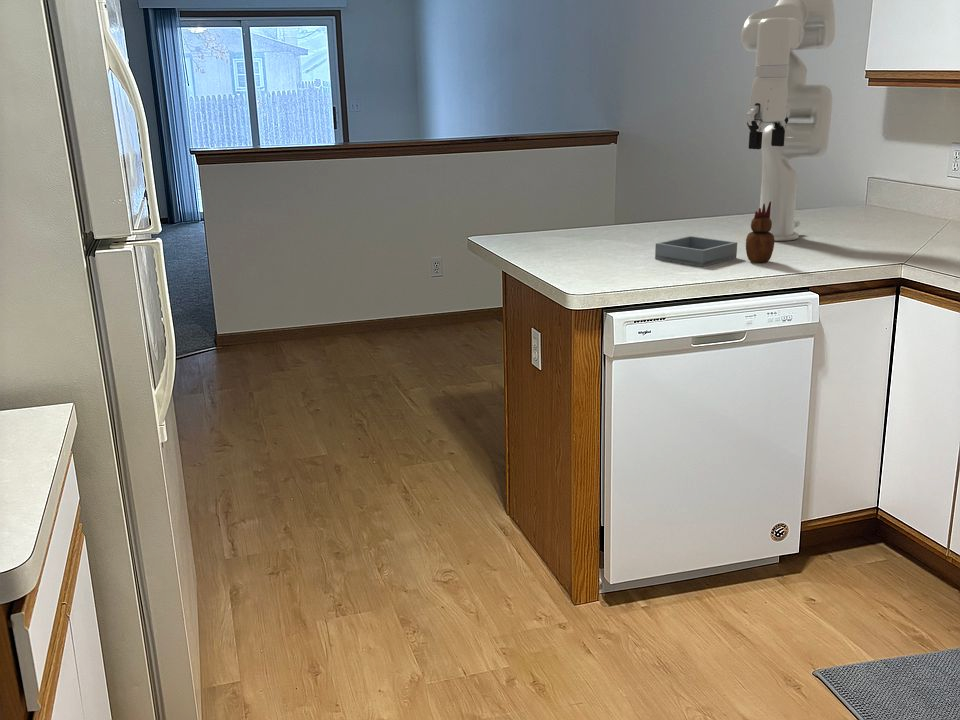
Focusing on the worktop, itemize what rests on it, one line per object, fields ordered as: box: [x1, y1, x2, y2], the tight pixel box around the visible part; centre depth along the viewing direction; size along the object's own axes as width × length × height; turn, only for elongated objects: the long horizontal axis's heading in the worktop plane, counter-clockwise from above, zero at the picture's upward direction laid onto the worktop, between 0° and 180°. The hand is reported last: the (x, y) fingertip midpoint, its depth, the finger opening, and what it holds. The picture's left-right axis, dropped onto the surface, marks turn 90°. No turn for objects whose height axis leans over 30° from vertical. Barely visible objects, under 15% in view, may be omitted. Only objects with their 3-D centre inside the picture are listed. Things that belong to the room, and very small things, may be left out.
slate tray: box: [654, 235, 738, 267], centre depth 236 cm, size 15×15×4 cm
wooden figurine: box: [745, 202, 776, 264], centre depth 228 cm, size 7×6×15 cm
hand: (766, 147), depth 222 cm, fingers open, 9 cm apart
